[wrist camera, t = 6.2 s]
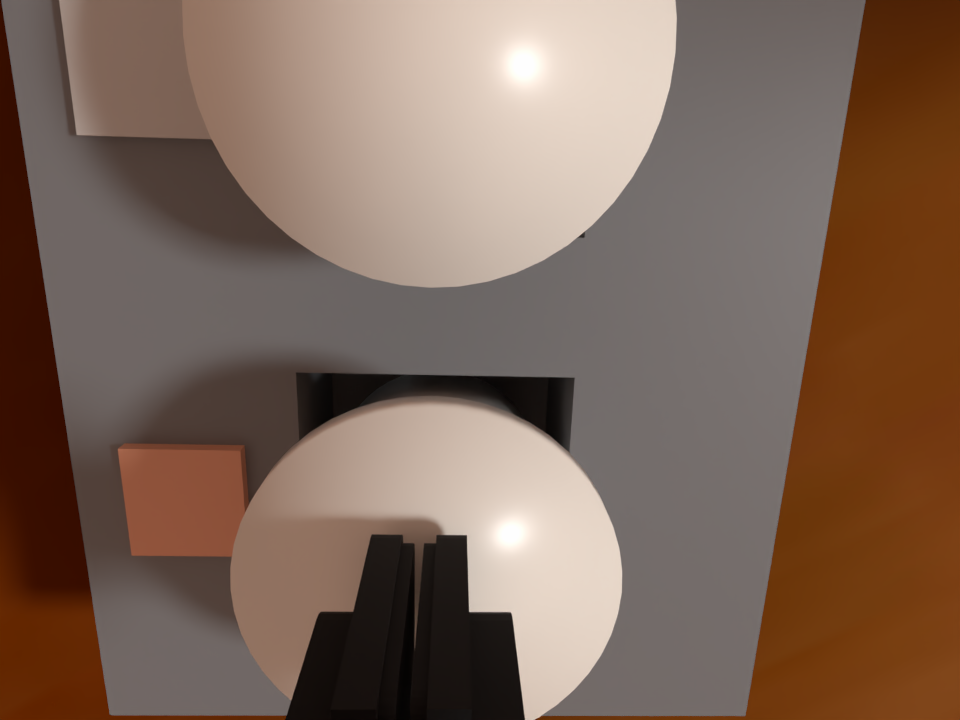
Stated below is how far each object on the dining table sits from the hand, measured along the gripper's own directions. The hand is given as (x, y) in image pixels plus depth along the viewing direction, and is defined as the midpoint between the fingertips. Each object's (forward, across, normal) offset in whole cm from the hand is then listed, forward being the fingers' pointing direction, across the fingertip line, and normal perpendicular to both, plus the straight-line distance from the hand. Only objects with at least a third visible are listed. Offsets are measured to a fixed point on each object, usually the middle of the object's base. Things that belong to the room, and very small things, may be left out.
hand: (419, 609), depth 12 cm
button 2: (+6, 0, 0) cm, 6 cm away
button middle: (+6, 0, -9) cm, 11 cm away
